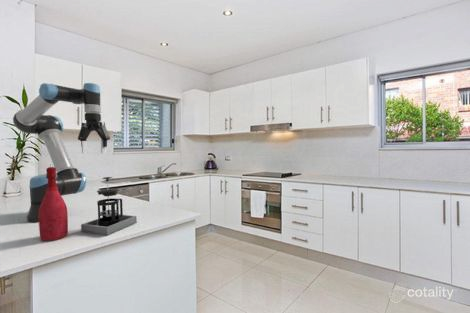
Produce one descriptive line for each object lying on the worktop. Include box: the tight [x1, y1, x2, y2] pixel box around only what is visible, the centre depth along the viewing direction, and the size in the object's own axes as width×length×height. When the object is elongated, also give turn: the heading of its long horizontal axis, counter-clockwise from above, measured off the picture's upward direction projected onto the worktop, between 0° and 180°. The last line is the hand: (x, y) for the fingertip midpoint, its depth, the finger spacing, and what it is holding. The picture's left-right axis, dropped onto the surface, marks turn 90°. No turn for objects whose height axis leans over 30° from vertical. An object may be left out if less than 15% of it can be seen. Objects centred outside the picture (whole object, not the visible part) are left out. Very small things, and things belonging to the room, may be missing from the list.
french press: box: [96, 176, 124, 227], centre depth 116 cm, size 12×9×23 cm
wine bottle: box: [38, 166, 69, 242], centre depth 104 cm, size 10×10×30 cm
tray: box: [80, 214, 138, 237], centre depth 117 cm, size 15×18×4 cm
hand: (94, 153), depth 132 cm, fingers open, 13 cm apart
